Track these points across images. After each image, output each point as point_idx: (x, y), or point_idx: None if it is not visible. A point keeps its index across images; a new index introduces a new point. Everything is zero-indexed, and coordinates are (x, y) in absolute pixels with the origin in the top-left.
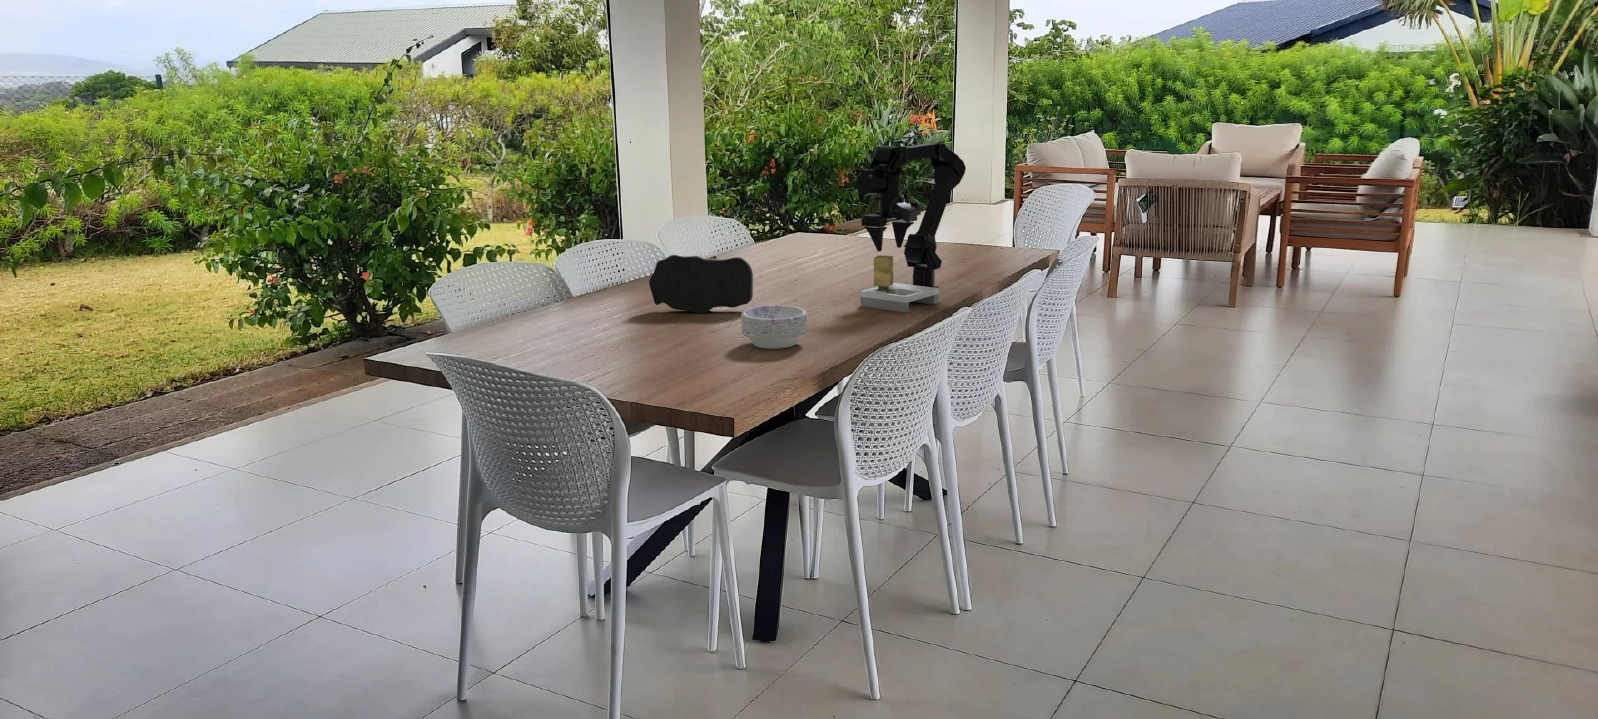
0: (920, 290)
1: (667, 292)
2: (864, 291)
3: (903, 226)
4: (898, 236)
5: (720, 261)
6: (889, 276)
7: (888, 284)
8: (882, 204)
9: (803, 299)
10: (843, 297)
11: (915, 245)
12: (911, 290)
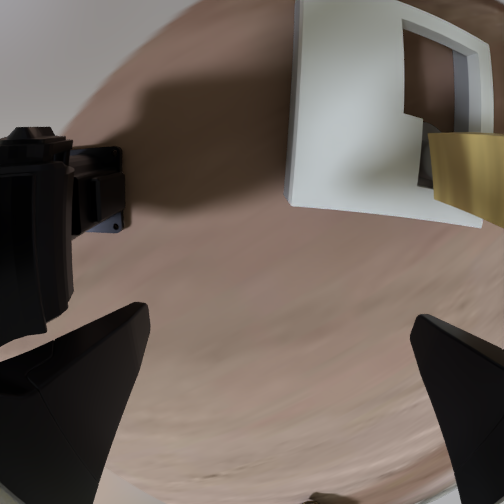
0: (388, 21)
1: None
2: None
3: (18, 433)
4: (108, 388)
5: None
6: (486, 133)
7: (473, 132)
8: None
9: (406, 381)
10: (356, 332)
11: (15, 247)
12: (403, 54)
